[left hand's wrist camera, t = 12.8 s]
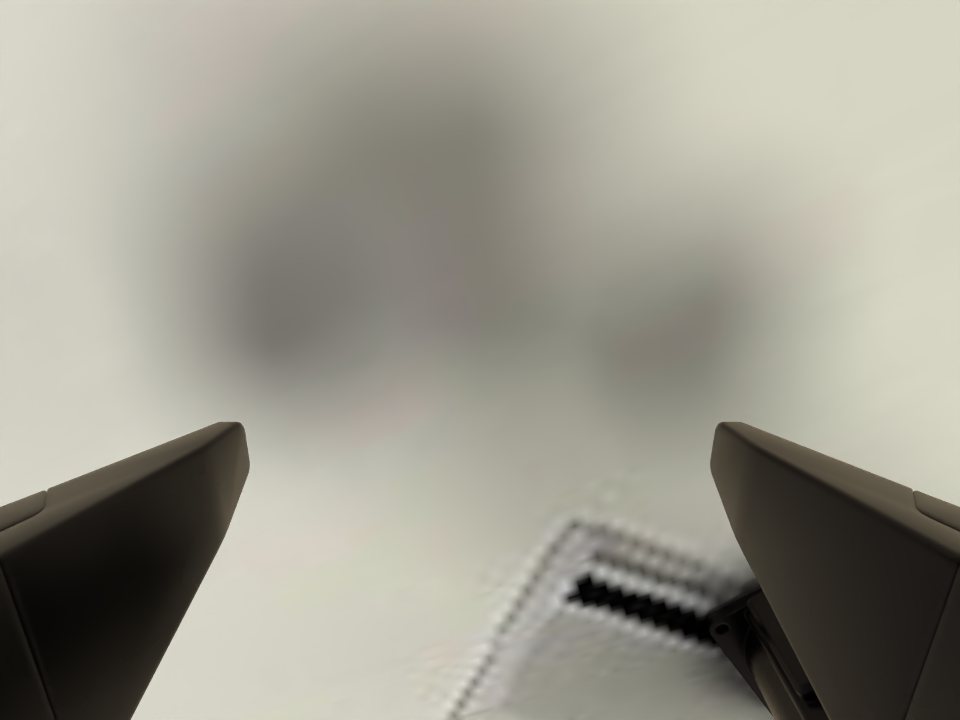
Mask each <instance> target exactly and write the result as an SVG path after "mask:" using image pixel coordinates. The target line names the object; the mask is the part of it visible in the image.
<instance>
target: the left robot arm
mask: <svg viewBox="0 0 960 720" xmlns="http://www.w3.org/2000/svg"><path fill="white" fill-rule="evenodd" d="M249 467H250V461H249V454H248V448H247V442H246V435H245V430H244V427H243V425H242V424H241V423H239V422H218V423H215V424H213V425H210V426H208V427H205V428H203V429H200V430H197V431H195V432H192V433H190V434H187V435H185V436H182V437H180V438H177V439H174V440H172V441H169V442H167V443H164V444H162V445H159V446H156V447H154V448H151V449H149V450H146V451H144V452H141V453H139V454H136V455H133V456H131V457H128V458H126V459H123V460H121V461H118V462H115V463H113V464H110V465H108V466H105V467H103V468H100V469H98V470H95V471H92V472H90V473H87V474H85V475H82V476H80V477H77V478H74V479H72V480H69V481H67V482H64V483H62V484H59V485H57V486H54V487H51V488H49V489H48V490H47V492H46V491H41V492H38V493H36V494H33V495H31V496H28V497H26V498H23V499H20V500H18V501H15V502H12V503H10V504H7V505H4V506H2V507H0V720H131V718H132V716H133V714H134V712H135V710H136V708H137V706H138V704H139V702H140V700H141V698H142V697H143V695H144V693H145V691H146V689H147V687H148V685H149V683H150V681H151V679H152V677H153V675H154V673H155V671H156V669H157V668H158V666H159V664H160V662H161V660H162V658H163V656H164V654H165V652H166V650H167V648H168V646H169V644H170V642H171V640H172V638H173V637H174V635H175V633H176V631H177V629H178V627H179V625H180V623H181V621H182V619H183V617H184V615H185V613H186V611H187V609H188V607H189V606H190V604H191V602H192V600H193V598H194V596H195V594H196V592H197V590H198V588H199V586H200V584H201V582H202V580H203V578H204V577H205V575H206V573H207V571H208V569H209V567H210V565H211V563H212V561H213V559H214V557H215V555H216V553H217V551H218V549H219V547H220V545H221V543H222V541H223V539H224V537H225V534H226V532H227V530H228V527H229V524H230V522H231V519H232V516H233V514H234V511H235V508H236V506H237V503H238V500H239V497H240V495H241V492H242V489H243V487H244V484H245V481H246V479H247V476H248V473H249ZM710 467H711V473H712V476H713V479H714V481H715V484H716V487H717V489H718V492H719V495H720V497H721V500H722V503H723V506H724V508H725V511H726V514H727V516H728V519H729V522H730V524H731V527H732V530H733V532H734V534H735V537H736V539H737V541H738V543H739V545H740V547H741V549H742V551H743V553H744V555H745V557H746V559H747V561H748V563H749V565H750V567H751V569H752V571H753V573H754V575H755V577H756V578H757V580H758V582H759V584H760V586H761V589H759V590H757V591H755V592H753V593H751V594H749V595H748V596H746V597H744V598H742V599H740V600H738V601H736V602H734V603H732V604H730V605H728V606H726V607H724V608H722V609H720V610H718V611H716V612H715V613H713V614H711V615H710V616H709V617H708V618H707V620H706V625H707V627H708V629H709V632H710V634H711V636H712V637H713V638H714V639H715V641H716V642H717V643H718V645H719V646H720V647H721V649H722V650H723V651H724V653H725V654H726V655H727V657H728V658H729V659H730V660H731V662H732V663H733V664H734V666H735V667H736V668H737V670H738V671H739V672H740V674H741V675H742V676H743V677H744V679H745V680H746V681H747V683H748V684H749V685H750V687H751V688H752V689H753V691H754V692H755V693H756V695H757V696H758V697H759V698H760V700H761V701H762V702H763V704H764V705H765V706H766V708H767V709H768V710H769V712H770V713H771V714H772V716H773V717H774V719H775V720H960V507H958V506H956V505H953V504H950V503H948V502H945V501H942V500H940V499H937V498H934V497H932V496H929V495H927V494H924V493H922V492H919V491H914V492H913V490H912V489H911V488H909V487H906V486H903V485H901V484H898V483H896V482H893V481H891V480H888V479H886V478H883V477H880V476H878V475H875V474H873V473H870V472H868V471H865V470H862V469H860V468H857V467H855V466H852V465H850V464H847V463H845V462H842V461H839V460H837V459H834V458H832V457H829V456H827V455H824V454H821V453H819V452H816V451H814V450H811V449H809V448H806V447H804V446H801V445H798V444H796V443H793V442H791V441H788V440H786V439H783V438H780V437H778V436H775V435H773V434H770V433H768V432H765V431H763V430H760V429H757V428H755V427H752V426H750V425H747V424H745V423H742V422H721V423H719V424H718V425H717V427H716V430H715V435H714V442H713V448H712V454H711V461H710ZM721 624H723V625H721ZM719 625H721V626H719Z"/></svg>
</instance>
